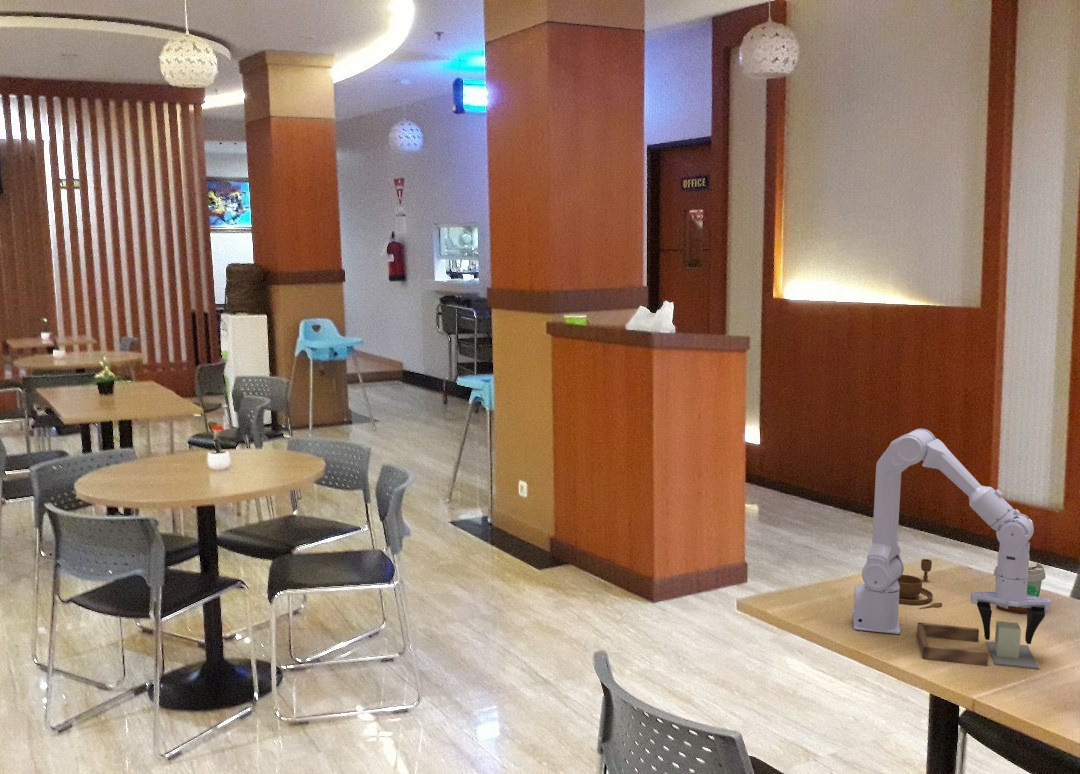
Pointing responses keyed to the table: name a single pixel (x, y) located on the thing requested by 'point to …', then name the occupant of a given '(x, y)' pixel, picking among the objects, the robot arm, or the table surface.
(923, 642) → the open side box
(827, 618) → the table surface
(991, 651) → the mat
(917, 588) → the place setting
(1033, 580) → the food container
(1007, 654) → the sage block
